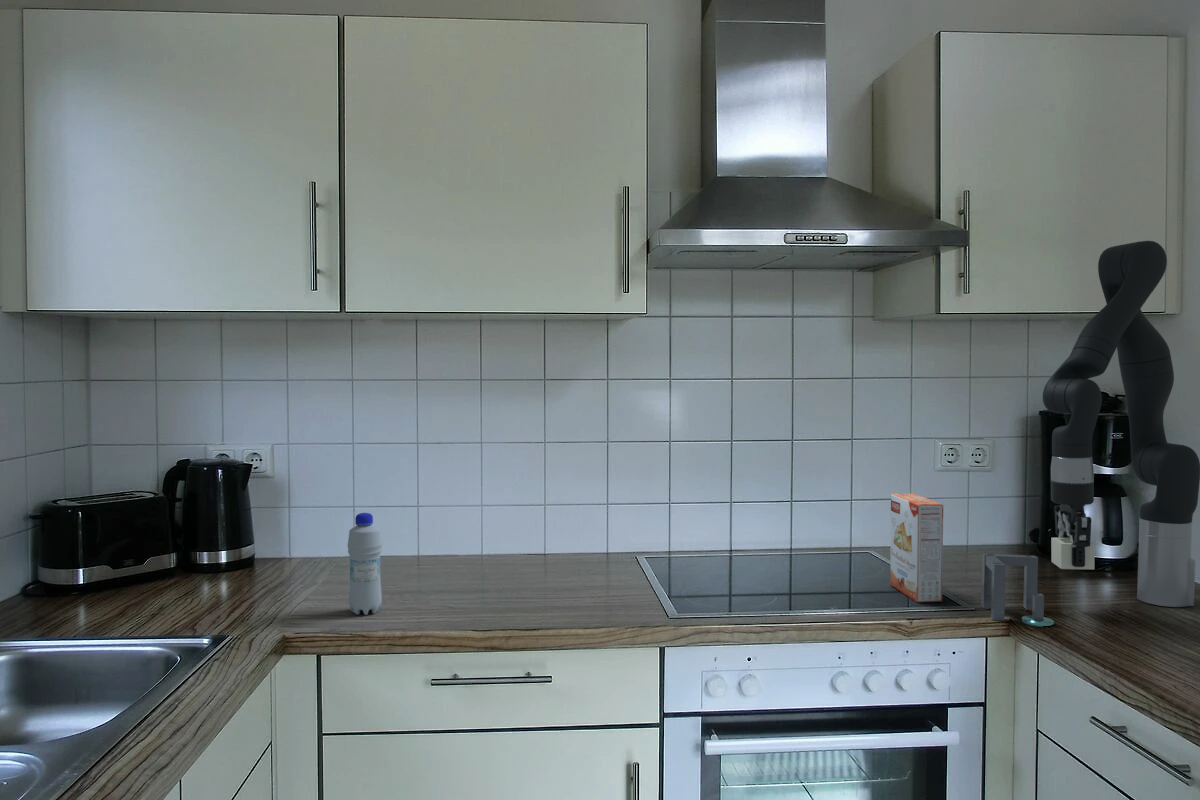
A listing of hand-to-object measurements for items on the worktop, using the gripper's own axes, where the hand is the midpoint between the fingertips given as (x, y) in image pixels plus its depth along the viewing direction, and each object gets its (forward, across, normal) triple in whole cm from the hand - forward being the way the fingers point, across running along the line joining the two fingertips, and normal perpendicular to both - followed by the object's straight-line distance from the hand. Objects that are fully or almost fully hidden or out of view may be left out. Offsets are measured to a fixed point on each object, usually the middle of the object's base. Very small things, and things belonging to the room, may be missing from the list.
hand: (1072, 562), depth 174 cm
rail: (+10, -4, +12) cm, 16 cm away
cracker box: (+10, +8, +29) cm, 32 cm away
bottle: (+6, -26, +139) cm, 142 cm away
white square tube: (+1, 0, 0) cm, 1 cm away
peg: (+10, -9, +9) cm, 16 cm away
